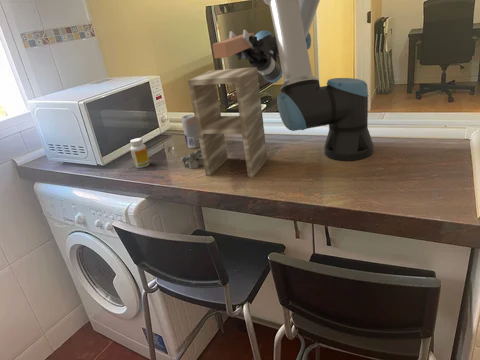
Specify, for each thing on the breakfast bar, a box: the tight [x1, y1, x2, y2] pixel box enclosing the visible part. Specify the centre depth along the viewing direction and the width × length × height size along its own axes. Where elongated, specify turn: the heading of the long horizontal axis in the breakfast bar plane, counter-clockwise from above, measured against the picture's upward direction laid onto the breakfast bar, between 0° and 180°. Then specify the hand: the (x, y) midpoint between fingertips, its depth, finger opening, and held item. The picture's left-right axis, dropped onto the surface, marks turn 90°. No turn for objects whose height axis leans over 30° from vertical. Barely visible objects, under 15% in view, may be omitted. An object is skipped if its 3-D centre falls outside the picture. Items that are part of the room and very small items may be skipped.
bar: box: [212, 32, 255, 59], centre depth 119 cm, size 4×24×4 cm, turn 158°
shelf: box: [187, 66, 268, 179], centre depth 117 cm, size 16×14×30 cm
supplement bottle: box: [129, 137, 151, 169], centre depth 135 cm, size 5×5×10 cm
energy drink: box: [181, 114, 200, 150], centre depth 146 cm, size 5×5×12 cm
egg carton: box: [179, 147, 204, 170], centre depth 131 cm, size 11×8×4 cm
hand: (237, 34), depth 120 cm, fingers closed on bar, 4 cm apart
